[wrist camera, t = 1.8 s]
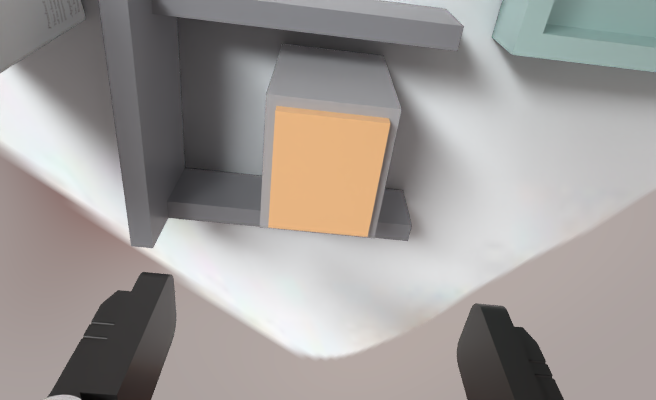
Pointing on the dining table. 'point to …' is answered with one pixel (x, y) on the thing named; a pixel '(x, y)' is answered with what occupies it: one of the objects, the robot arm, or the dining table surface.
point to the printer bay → (166, 104)
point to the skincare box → (33, 25)
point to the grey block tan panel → (327, 141)
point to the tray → (581, 31)
